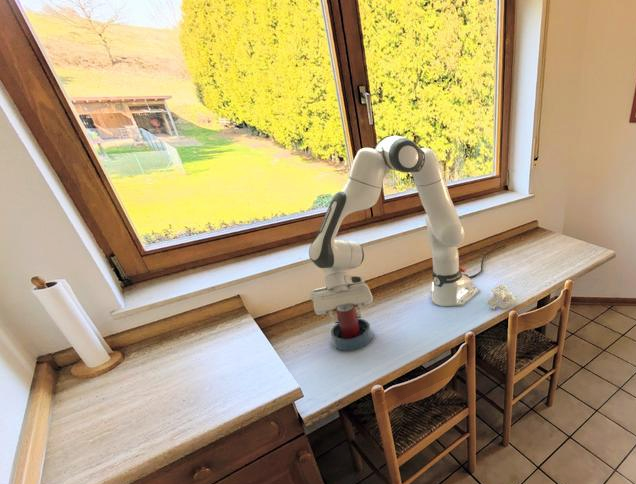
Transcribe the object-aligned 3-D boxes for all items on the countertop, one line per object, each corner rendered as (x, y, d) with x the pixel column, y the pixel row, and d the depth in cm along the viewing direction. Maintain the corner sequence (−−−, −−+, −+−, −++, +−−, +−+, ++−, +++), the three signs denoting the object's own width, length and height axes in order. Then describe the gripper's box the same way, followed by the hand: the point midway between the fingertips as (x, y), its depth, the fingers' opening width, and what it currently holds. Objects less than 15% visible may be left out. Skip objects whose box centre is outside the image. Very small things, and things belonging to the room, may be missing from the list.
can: (353, 326, 137) (348, 300, 131) (363, 332, 133) (358, 306, 127) (338, 333, 132) (332, 307, 126) (348, 340, 129) (342, 314, 123)
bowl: (358, 325, 143) (356, 314, 140) (379, 339, 135) (377, 327, 132) (326, 341, 134) (323, 329, 131) (347, 357, 126) (344, 345, 123)
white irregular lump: (516, 307, 149) (500, 291, 147) (501, 318, 153) (485, 303, 151) (520, 293, 159) (505, 278, 157) (506, 304, 163) (491, 290, 161)
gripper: (307, 287, 125) (316, 325, 122) (367, 276, 133) (377, 311, 130) (309, 293, 130) (318, 329, 128) (366, 281, 138) (376, 315, 136)
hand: (348, 320), depth 129 cm, fingers closed on can, 6 cm apart
